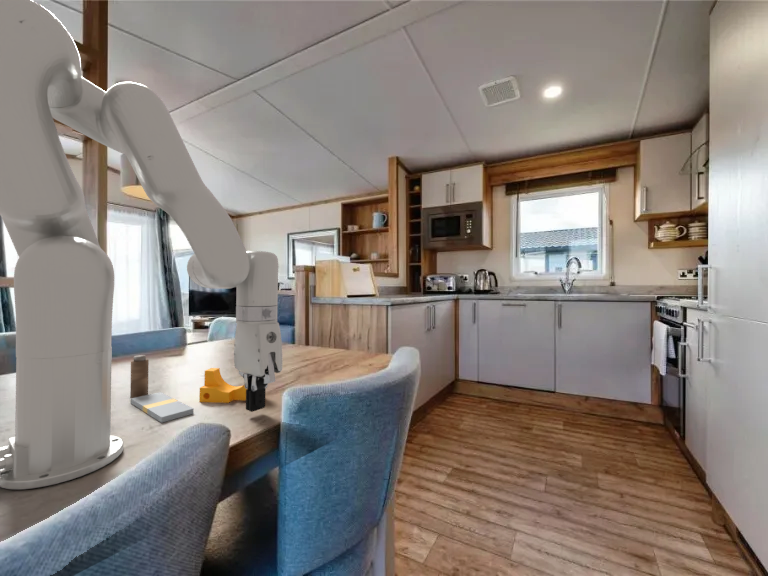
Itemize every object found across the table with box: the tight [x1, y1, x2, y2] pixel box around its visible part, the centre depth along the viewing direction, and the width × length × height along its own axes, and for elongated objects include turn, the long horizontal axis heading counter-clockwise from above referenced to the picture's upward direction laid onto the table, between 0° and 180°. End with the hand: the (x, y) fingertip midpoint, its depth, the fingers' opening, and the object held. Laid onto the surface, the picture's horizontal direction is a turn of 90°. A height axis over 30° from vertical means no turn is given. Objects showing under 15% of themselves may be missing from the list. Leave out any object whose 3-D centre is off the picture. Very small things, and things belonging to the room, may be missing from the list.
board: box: [130, 391, 194, 424], centre depth 66 cm, size 6×16×1 cm, turn 54°
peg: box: [129, 354, 150, 399], centre depth 73 cm, size 3×3×9 cm
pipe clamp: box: [198, 367, 247, 404], centre depth 72 cm, size 12×4×6 cm, turn 88°
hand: (255, 408), depth 63 cm, fingers closed
